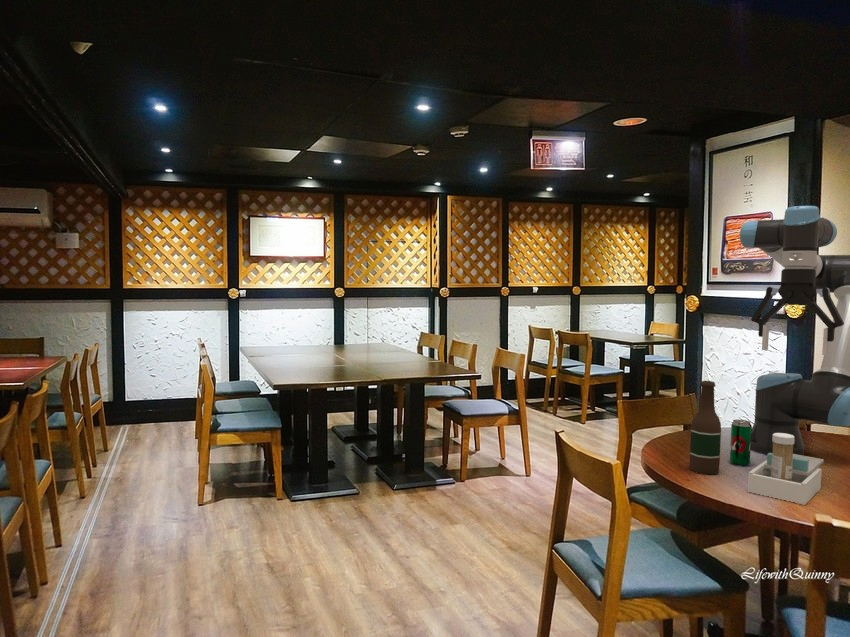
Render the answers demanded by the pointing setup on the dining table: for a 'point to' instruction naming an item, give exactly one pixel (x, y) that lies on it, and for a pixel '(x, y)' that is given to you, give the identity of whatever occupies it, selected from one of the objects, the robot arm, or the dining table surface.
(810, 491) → the mailer box
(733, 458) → the soda can
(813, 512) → the dining table surface
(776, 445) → the sprinkles bottle
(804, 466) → the lid
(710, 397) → the beer bottle
